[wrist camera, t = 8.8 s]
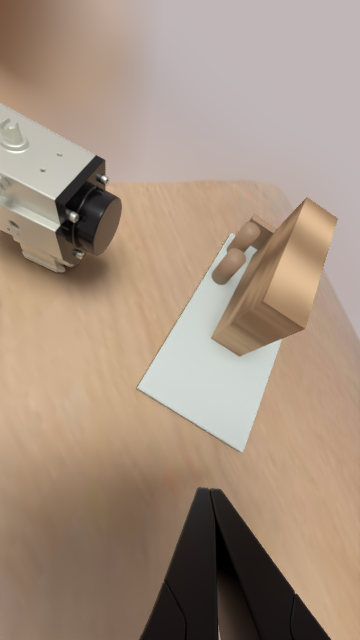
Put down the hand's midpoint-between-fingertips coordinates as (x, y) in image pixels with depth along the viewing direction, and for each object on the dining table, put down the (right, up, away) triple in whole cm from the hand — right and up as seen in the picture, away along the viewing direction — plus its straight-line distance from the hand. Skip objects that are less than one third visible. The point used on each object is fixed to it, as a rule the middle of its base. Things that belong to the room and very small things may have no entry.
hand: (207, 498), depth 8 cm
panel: (+5, +6, +18) cm, 20 cm away
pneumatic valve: (-14, +12, +15) cm, 24 cm away
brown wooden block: (+7, +8, +19) cm, 22 cm away
